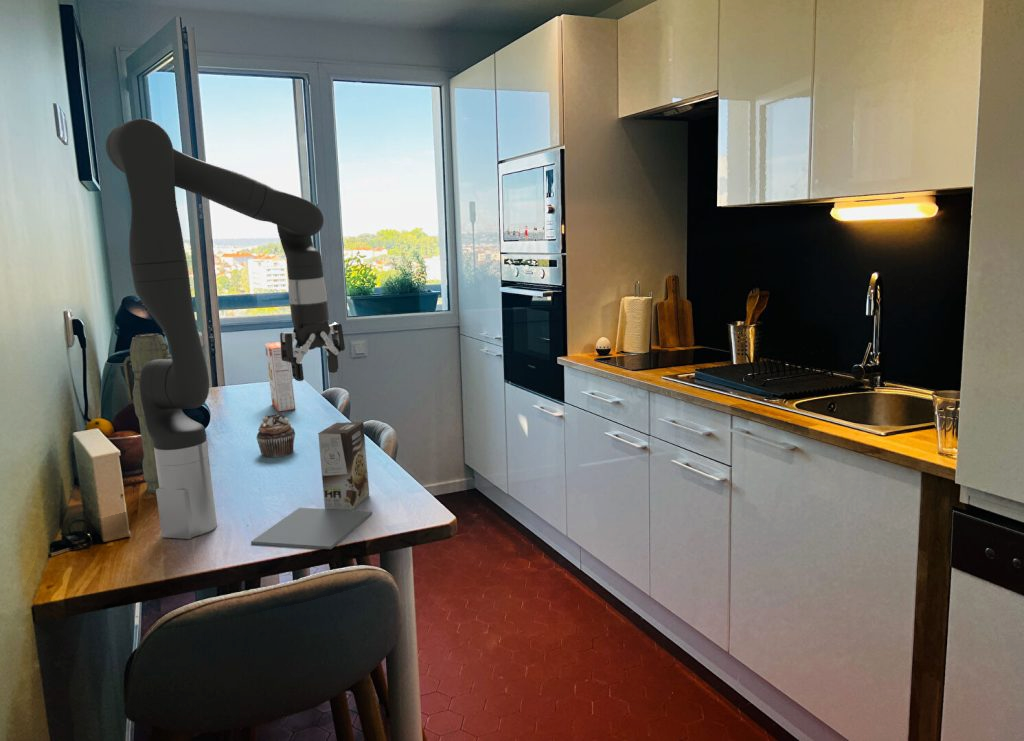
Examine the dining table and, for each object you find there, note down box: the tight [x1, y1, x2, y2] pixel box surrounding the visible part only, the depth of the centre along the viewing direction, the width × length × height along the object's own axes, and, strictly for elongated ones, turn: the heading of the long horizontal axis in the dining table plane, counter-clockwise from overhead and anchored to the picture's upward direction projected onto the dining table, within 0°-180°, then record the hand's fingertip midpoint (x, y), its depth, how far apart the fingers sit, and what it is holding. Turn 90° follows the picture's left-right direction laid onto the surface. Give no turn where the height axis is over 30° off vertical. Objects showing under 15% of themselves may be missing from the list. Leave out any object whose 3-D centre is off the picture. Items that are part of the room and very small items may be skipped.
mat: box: [250, 507, 373, 550], centre depth 144 cm, size 17×16×1 cm
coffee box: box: [317, 421, 370, 511], centre depth 155 cm, size 9×6×16 cm
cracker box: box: [264, 341, 296, 413], centre depth 248 cm, size 14×6×21 cm, turn 25°
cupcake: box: [256, 412, 296, 458], centre depth 196 cm, size 10×10×10 cm
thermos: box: [122, 332, 172, 494], centre depth 170 cm, size 9×12×35 cm
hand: (316, 376), depth 160 cm, fingers open, 8 cm apart
